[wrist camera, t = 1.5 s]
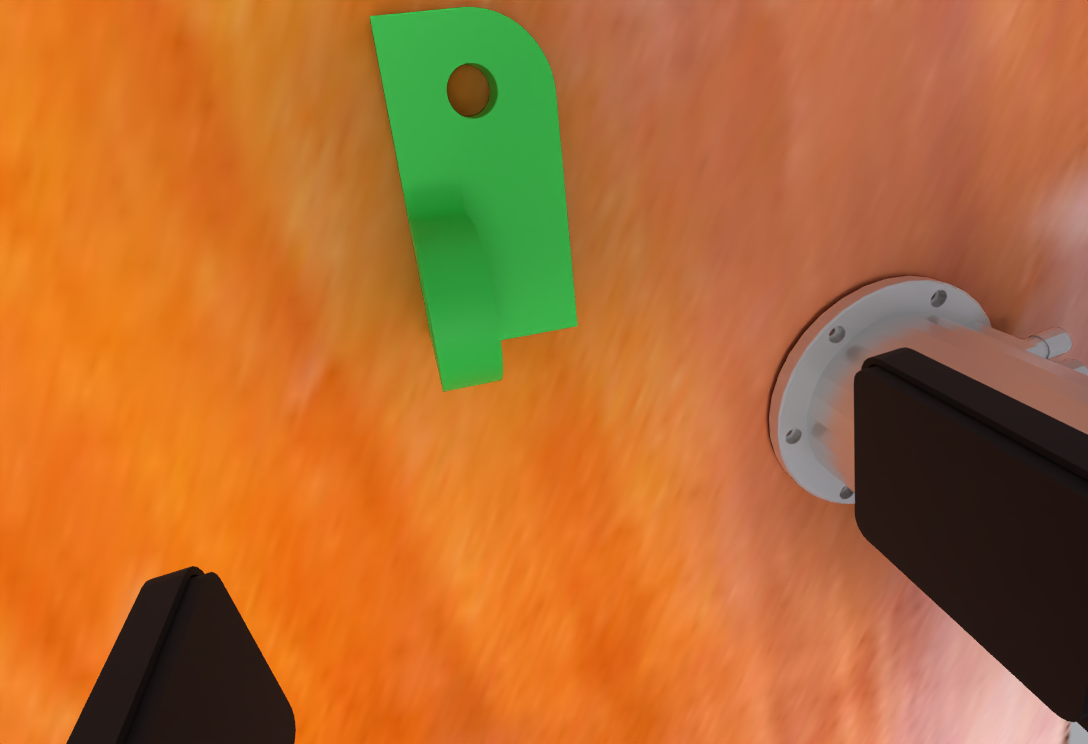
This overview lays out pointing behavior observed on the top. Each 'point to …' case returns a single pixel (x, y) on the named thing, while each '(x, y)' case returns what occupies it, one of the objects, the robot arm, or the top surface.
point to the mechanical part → (478, 184)
